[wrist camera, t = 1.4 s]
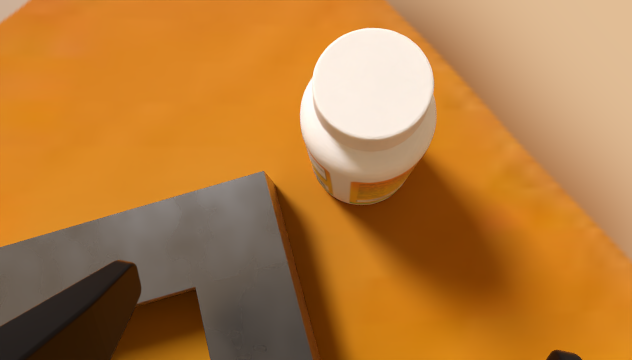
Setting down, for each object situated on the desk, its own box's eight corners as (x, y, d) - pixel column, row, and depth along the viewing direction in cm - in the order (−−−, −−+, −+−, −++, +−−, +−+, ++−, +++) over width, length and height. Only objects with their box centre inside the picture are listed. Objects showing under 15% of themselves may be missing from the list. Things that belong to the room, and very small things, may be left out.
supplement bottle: (425, 134, 23) (483, 41, 13) (386, 222, 22) (418, 189, 12) (336, 98, 24) (332, -15, 14) (295, 181, 23) (262, 121, 13)
